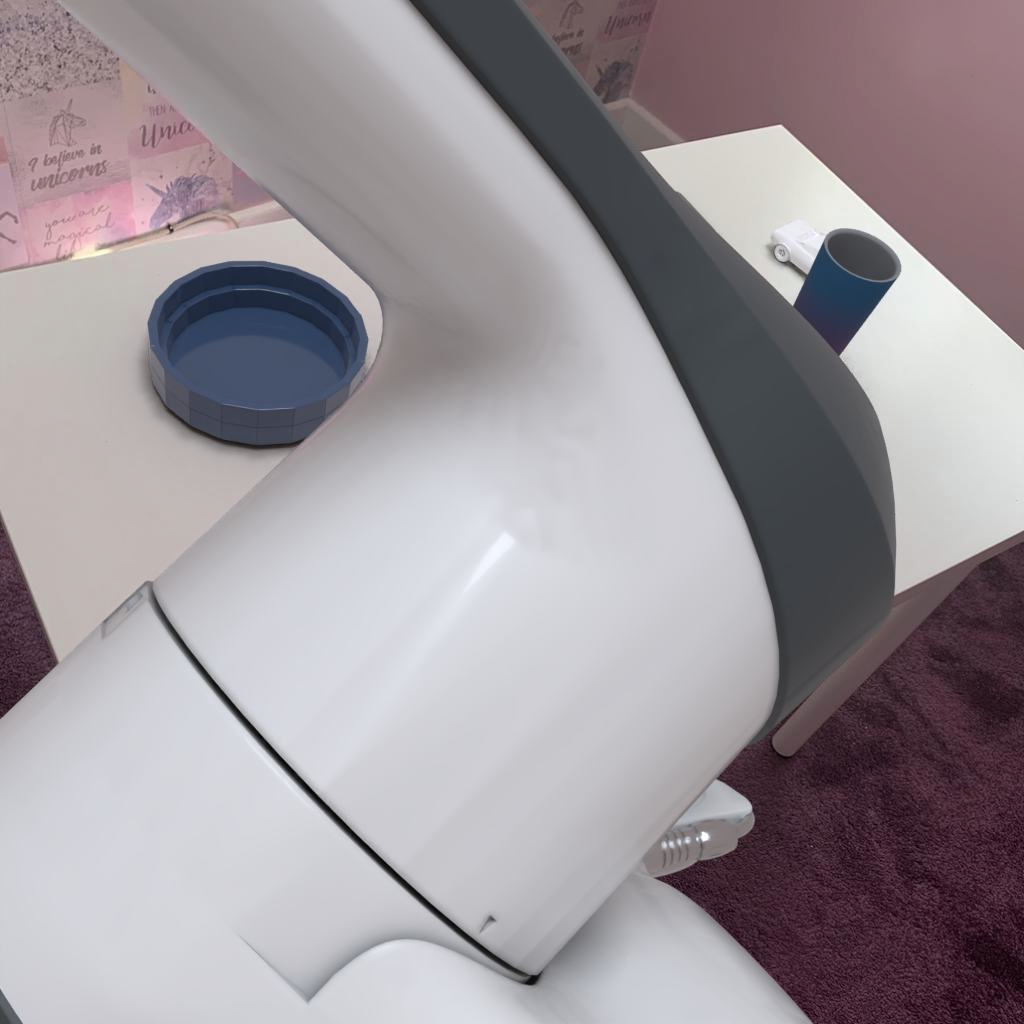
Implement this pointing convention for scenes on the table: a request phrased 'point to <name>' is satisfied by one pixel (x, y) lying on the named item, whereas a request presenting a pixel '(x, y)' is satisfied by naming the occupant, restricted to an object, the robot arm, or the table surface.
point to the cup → (846, 284)
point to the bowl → (255, 350)
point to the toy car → (797, 244)
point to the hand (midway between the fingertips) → (357, 739)
